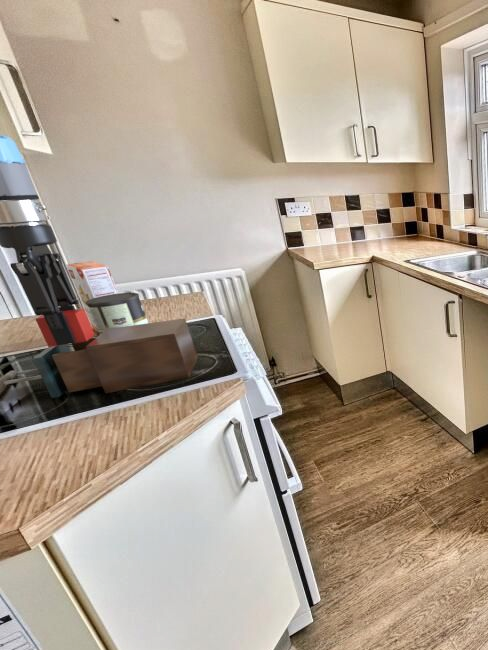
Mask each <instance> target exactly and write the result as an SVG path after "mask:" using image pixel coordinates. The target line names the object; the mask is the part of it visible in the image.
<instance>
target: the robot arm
mask: <svg viewBox="0 0 488 650" xmlns="http://www.w3.org/2000/svg"><path fill="white" fill-rule="evenodd" d="M36 190H37V189H36V188H35V185H34V183H33V180H32V177H31V175H30V172H29V170H28V167H27V165H26V160H25V159H24V157H23V156H22V154H21V152H20V150H19V148H18V146H17V144H16V142H15V140H13V139H12V138H11V137H9V136H8V135H5V134H0V247H1V248H3V249H13V250H14V252H15V256H16V261H17V262H11V263H10V268H11V269H12V271H13V273H14V274H15V275H16V277H17V278H18V281H19V283H20V285H21V287H22V289H23V291H24V294H25V296H26V298H27V300H28V302H29V304H30V306H31V308H32V310H33V313H34V315H35V316H38V317H39V316H41V315H44V317H45V320H46V322H47V324H48V326H49V328H50V331H51V333H52V335H53V337H54V339H55V342H56V344H57V345H63V344H67V345H71V344H70V343H75V342H76V340H75V337H74V335H73V333H72V331H71V328H70V326H69V324H68V322H67V319H66V317H65V314H64V312H60V311H67V310H75V309H76V307H75V305H79V303H80V302H79V299H77V296H76V294H75V291H74V289H73V287H72V283H71V282H70V278H69V277H68V274H67V272H66V270H65V267H64V265H63V261H62V257H61V254H60V253H59V252H55V253H53V252H52V250H51V249H50V248H49V247H48V246H49V245H54V244H56V243H57V242H58V240H57V236H56V235H55V232H54V230H53V228H52V225H50V224H49V223H45V222H47V221H48V216H47V214H46V210H47V206H46V205H45V204H42V202H41V200H40V197H39V195H38V193H37V191H36Z"/></svg>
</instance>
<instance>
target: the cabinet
mask: <svg viewBox="0 0 488 650" xmlns="http://www.w3.org/2000/svg"><path fill="white" fill-rule="evenodd" d="M96 337H97V338H96V339H94V340H93V341H92V342H91V343H90V344H88V345H87V346H86V349H87V352H88V354H89V356H90V359H91V361H92V363H93V366H94V368H95V370H96V373H97V375H98V377H99V380H100V382H101V384H102V387H101V388H102V389H103V391H104V393H105V394H110V393H116V392H121V391H126V390H130V389H131V390H132V389H136V388H143V387H146V386H152V385H158V384H163V383H169V382H174V381H179V380H184V379H189V378H190V377H191V375H192V373H193V371H194V368H195V367H196V365H197V362H198V360H199V357H198V353H197V351H196V347H195V344H194V341H193V339H192V334H191V332H190V328H189V325H188V323H187V319H186V318H176V319H170V320H162V321H155V322H148V323H147V324H140V325H133V326H126V327H118V328H111V329H106V330H105V331H104V332H103V333H102V334H100V335H99V334H98V336H96Z"/></svg>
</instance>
